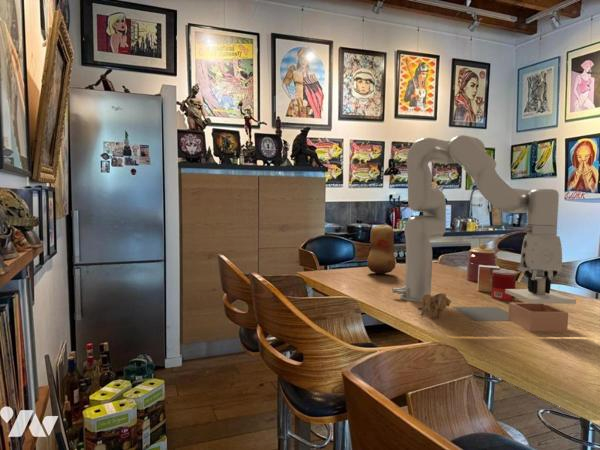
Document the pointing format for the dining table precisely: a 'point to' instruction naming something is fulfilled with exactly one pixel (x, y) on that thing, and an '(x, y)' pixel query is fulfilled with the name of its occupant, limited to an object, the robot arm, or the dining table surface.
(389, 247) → the butternut squash
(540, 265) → the robot arm
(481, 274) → the small box
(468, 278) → the canister
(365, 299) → the dining table surface
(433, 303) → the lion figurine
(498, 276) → the canned food
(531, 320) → the pink square box
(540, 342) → the dining table surface
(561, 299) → the lid
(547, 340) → the dining table surface
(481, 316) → the mat
